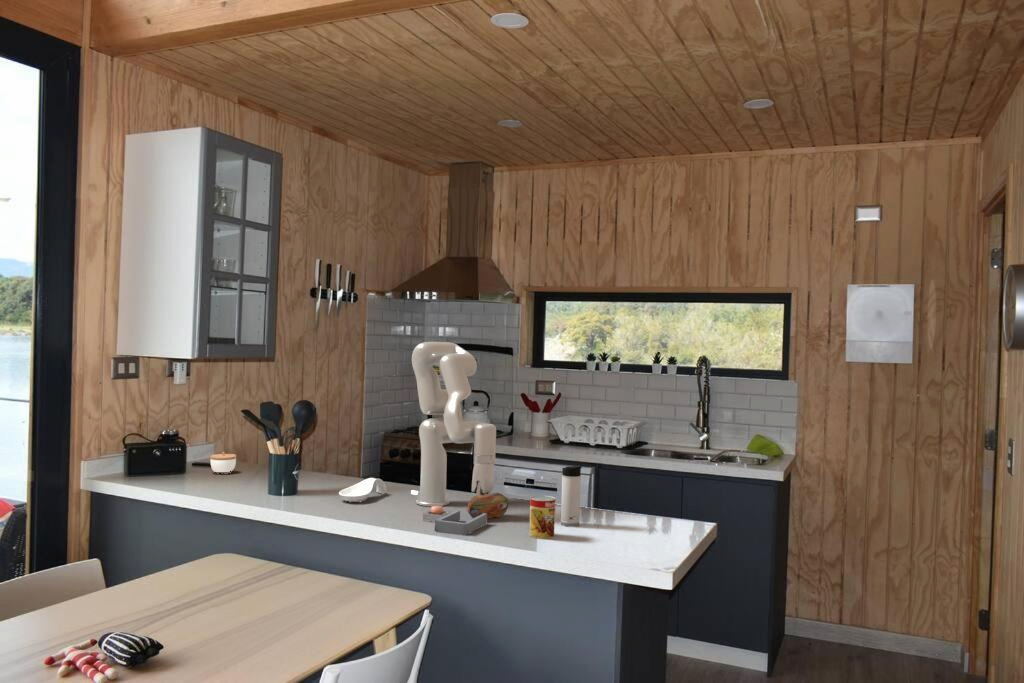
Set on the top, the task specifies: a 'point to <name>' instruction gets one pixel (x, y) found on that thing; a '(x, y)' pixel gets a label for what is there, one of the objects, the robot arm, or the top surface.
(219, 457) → the lidded jar
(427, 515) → the switch box
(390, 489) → the top surface
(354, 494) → the spoon rest
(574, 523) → the travel mug
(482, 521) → the bay
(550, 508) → the canned food
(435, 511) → the button
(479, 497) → the tin
